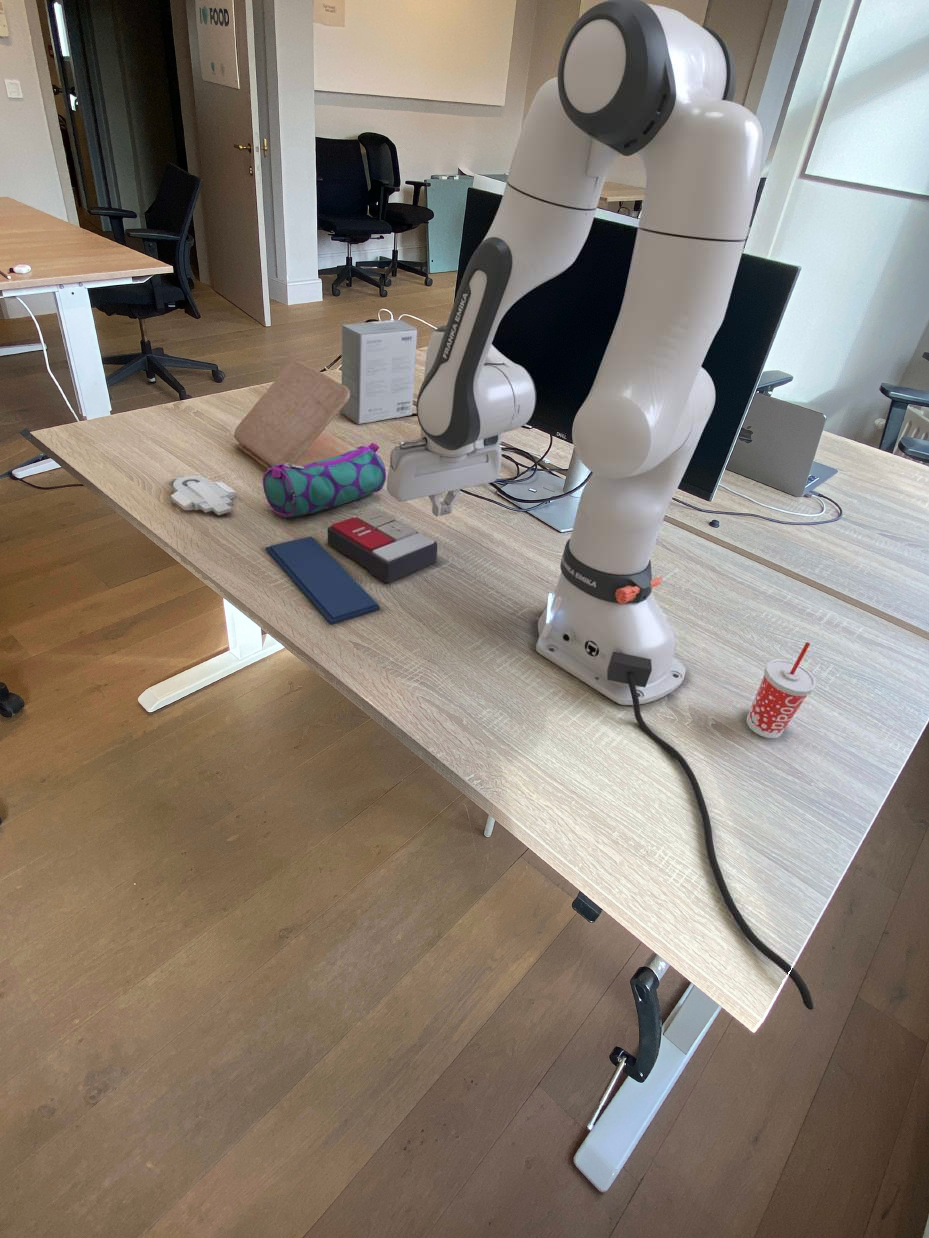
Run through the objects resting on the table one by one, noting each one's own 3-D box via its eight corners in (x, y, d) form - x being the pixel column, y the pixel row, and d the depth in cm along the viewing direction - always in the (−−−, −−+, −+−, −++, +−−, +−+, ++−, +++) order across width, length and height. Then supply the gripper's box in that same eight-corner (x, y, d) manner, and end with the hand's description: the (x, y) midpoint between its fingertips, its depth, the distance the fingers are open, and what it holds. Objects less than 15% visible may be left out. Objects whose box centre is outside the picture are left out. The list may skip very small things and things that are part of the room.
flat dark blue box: (379, 609, 102) (380, 604, 101) (330, 624, 98) (330, 619, 97) (311, 539, 115) (311, 534, 115) (265, 549, 111) (265, 545, 110)
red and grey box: (378, 505, 119) (439, 539, 111) (377, 528, 122) (437, 562, 114) (326, 523, 113) (387, 560, 105) (326, 546, 115) (386, 584, 107)
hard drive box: (394, 405, 170) (400, 319, 158) (413, 416, 165) (420, 328, 154) (339, 413, 161) (341, 323, 149) (357, 425, 157) (360, 333, 145)
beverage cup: (743, 736, 90) (787, 653, 81) (737, 705, 94) (777, 623, 86) (791, 747, 89) (840, 664, 81) (782, 714, 94) (827, 633, 86)
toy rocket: (251, 509, 120) (250, 497, 119) (199, 525, 114) (197, 512, 113) (202, 475, 128) (200, 463, 127) (151, 487, 122) (149, 475, 121)
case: (230, 446, 140) (223, 365, 130) (319, 429, 152) (320, 354, 142) (283, 487, 128) (280, 402, 119) (375, 465, 141) (379, 387, 131)
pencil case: (291, 530, 117) (290, 477, 111) (262, 508, 121) (260, 456, 116) (387, 500, 130) (390, 451, 124) (358, 481, 134) (359, 434, 128)
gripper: (402, 451, 101) (398, 535, 109) (511, 432, 111) (500, 510, 119) (380, 435, 105) (378, 517, 113) (487, 419, 115) (478, 495, 123)
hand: (441, 513), depth 116 cm, fingers closed
